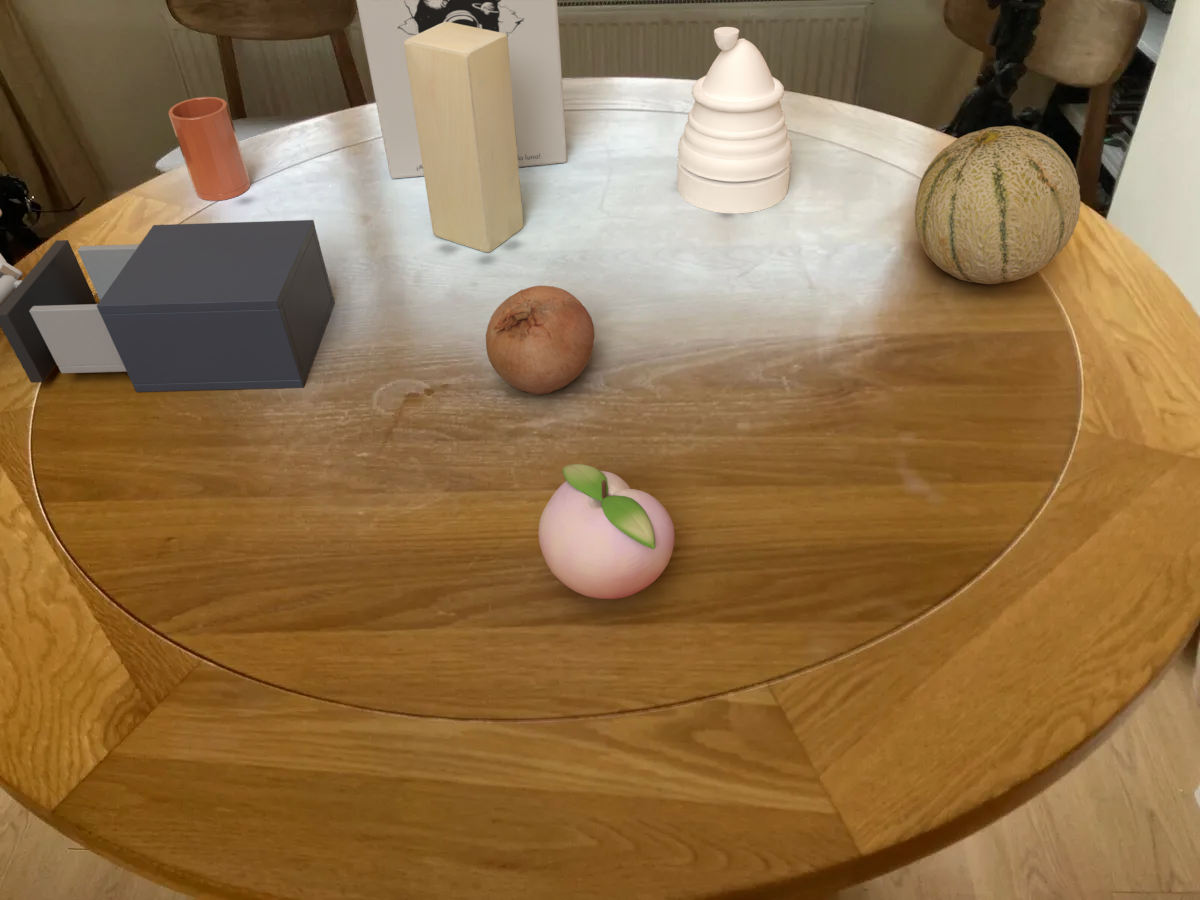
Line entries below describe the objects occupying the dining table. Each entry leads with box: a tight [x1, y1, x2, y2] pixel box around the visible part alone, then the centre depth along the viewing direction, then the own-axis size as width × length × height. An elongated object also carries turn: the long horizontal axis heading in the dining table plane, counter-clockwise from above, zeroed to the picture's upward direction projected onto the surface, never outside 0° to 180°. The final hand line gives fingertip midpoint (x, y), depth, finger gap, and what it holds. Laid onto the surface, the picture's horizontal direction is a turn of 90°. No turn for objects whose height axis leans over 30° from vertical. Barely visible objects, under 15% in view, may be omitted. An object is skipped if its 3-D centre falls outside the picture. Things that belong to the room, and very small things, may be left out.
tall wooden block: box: [404, 22, 524, 253], centre depth 100 cm, size 8×7×21 cm
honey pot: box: [676, 26, 793, 215], centre depth 106 cm, size 13×13×18 cm
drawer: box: [0, 239, 140, 383], centre depth 89 cm, size 19×13×7 cm
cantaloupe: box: [914, 125, 1081, 285], centre depth 92 cm, size 15×15×15 cm
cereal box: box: [355, 0, 568, 180], centre depth 112 cm, size 22×8×25 cm, turn 98°
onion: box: [485, 285, 596, 395], centre depth 83 cm, size 10×9×10 cm
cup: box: [167, 96, 251, 202], centre depth 113 cm, size 6×6×10 cm
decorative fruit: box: [538, 463, 676, 600], centre depth 65 cm, size 9×8×10 cm
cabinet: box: [97, 219, 336, 393], centre depth 89 cm, size 15×14×9 cm
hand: (1, 303), depth 89 cm, fingers closed on drawer, 5 cm apart
